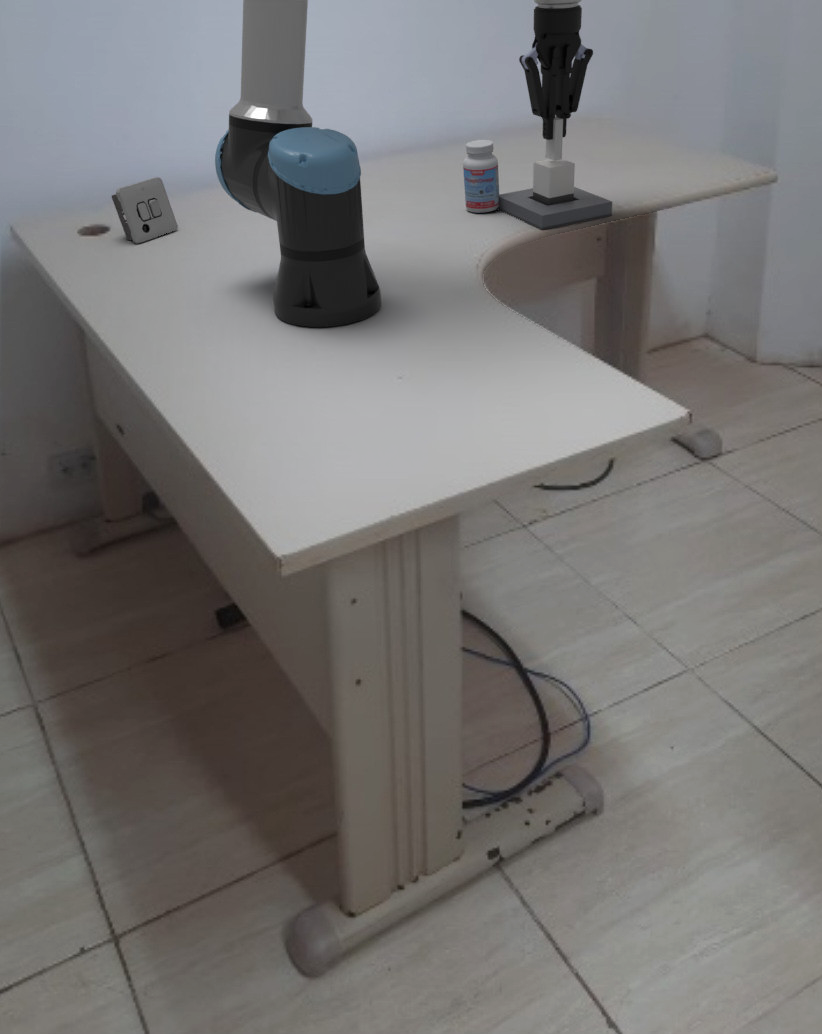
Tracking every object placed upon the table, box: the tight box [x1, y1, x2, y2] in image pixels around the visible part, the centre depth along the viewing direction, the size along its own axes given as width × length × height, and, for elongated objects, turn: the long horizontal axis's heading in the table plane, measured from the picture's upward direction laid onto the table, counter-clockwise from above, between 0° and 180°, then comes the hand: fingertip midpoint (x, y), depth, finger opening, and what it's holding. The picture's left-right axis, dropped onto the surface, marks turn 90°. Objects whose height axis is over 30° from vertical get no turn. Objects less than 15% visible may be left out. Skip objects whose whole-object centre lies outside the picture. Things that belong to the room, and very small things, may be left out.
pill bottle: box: [462, 139, 500, 214], centre depth 184 cm, size 6×6×11 cm
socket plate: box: [496, 186, 613, 231], centre depth 183 cm, size 15×14×2 cm
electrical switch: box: [111, 176, 179, 244], centre depth 181 cm, size 9×5×9 cm, turn 141°
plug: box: [532, 158, 576, 206], centre depth 182 cm, size 5×5×8 cm
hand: (553, 158), depth 179 cm, fingers closed
